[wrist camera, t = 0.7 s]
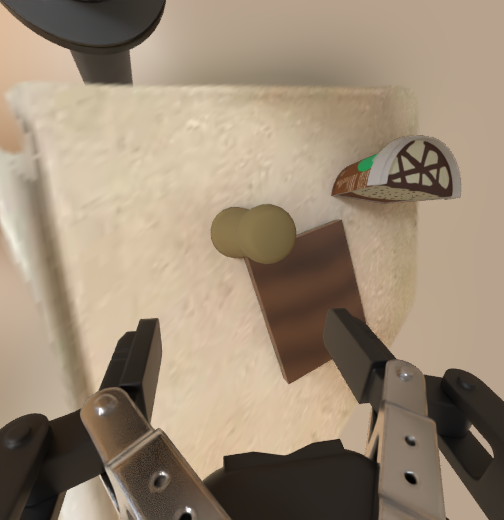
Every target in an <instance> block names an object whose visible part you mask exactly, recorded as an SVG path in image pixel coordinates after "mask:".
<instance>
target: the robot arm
mask: <svg viewBox="0 0 504 520" xmlns="http://www.w3.org/2000/svg"><path fill="white" fill-rule="evenodd" d="M74 1H78V2H83V3H99V2H103V1H106V0H74ZM323 341H324V345H325V347H326V349H327V350H328V352H329V354H330V355H331V357H332V359H333V361H334V362H335V364H336V366H337V367H338V369H339V371H340V372H341V374H342V376H343V378H344V379H345V381H346V383H347V384H348V386H349V388H350V389H351V391H352V393H353V395H354V396H355V398H356V400H357V401H358V403H359V404H362V403H370V404H371V406H372V409H371V412H370V419H369V426H368V433H367V441H366V448H365V454H364V455H362V454H360V453H357V452H355V451H351V450H347V449H344V447H343V445H342V443H341V440H340V439H335V440H328V441H322V442H315V443H311V444H309V445H307V446H305V447H303V448H301V449H299V450H297V451H295V452H293V453H291V454H289V455H276V454H268V453H260V452H248V453H242V454H235V455H228V456H223V467H222V468H220V469H218V470H216V471H215V472H213V473H212V474H210V475H209V476H208V477H206V478H205V479H204V480H203V481H201V479H200V478H199V477H198V475H197V474H196V473H195V471H194V470H193V469H192V468H191V466H190V465H189V464H188V462H187V461H186V460H185V458H184V457H183V456H182V455H181V453H180V452H179V451H178V449H177V448H176V447H175V445H174V444H173V443H172V442H171V440H170V439H169V438H168V436H167V435H166V434H165V433H164V431H163V430H161V429H160V428H158V429H156V430H155V429H154V428H153V427H152V426H151V425H150V422H151V416H152V411H153V405H154V399H155V393H156V388H157V382H158V376H159V370H160V365H161V358H162V343H161V334H160V325H159V319H158V318H152V319H140V321H139V324H138V327H137V330H136V331H131V332H126V333H125V334H124V335H123V336H122V337H121V338H120V339H119V341H118V343H117V346H116V348H115V352H114V353H113V356H112V360H111V361H110V363H109V366H108V368H107V371H106V373H105V376H104V378H103V381H102V383H101V386H100V388H99V391H98V392H96V393H95V394H93V395H92V396H91V397H89V398H88V399H87V400H86V402H85V403H84V404H83V406H82V408H81V409H79V410H77V411H75V412H73V413H70V414H68V415H65V416H62V417H59V418H57V419H54V420H51V421H48V419H47V417H46V416H44V415H42V414H36V413H34V414H28V415H24V416H21V417H19V418H17V419H15V420H13V421H11V422H10V423H8V424H6V425H5V426H4V427H3V428H1V429H0V520H58V517H59V513H60V510H61V507H62V504H63V501H64V498H65V495H66V492H67V490H68V489H70V488H73V487H75V486H77V485H79V484H81V483H83V482H85V481H87V480H90V479H92V478H94V477H96V476H98V475H99V477H100V479H101V481H102V483H103V485H104V487H105V489H106V491H107V493H108V495H109V497H110V499H111V501H112V503H113V505H114V507H115V509H116V511H117V513H118V515H119V517H120V519H121V520H449V519H448V518H447V517H446V516H445V507H444V497H443V488H442V479H441V468H440V459H439V450H438V448H439V449H440V451H441V452H442V453H443V455H444V456H445V458H446V459H447V461H448V462H449V463H450V465H451V466H452V468H453V469H454V470H455V472H456V473H457V475H458V476H459V477H460V479H461V481H462V482H463V483H464V485H465V486H466V488H467V489H468V490H469V492H470V493H471V495H472V496H473V498H474V499H475V501H476V502H477V503H478V505H479V506H480V508H481V509H482V511H483V512H484V513H485V515H486V516H487V518H488V519H489V520H504V401H503V400H502V399H501V398H500V397H498V396H497V395H496V394H495V393H494V392H493V391H492V390H491V389H490V388H489V387H488V386H487V385H486V384H485V383H484V382H482V381H481V380H480V379H479V378H477V377H476V376H474V375H473V374H471V373H469V372H466V371H464V370H460V369H448V370H447V371H446V372H445V374H444V376H443V378H441V377H435V376H428V375H423V373H422V372H421V371H420V370H419V369H418V368H417V367H416V366H414V365H412V364H411V363H409V362H406V361H403V360H398V359H396V358H395V357H394V355H393V354H392V353H391V352H390V351H389V350H388V349H387V347H386V346H385V345H384V344H383V343H382V342H381V341H380V339H379V338H377V336H376V335H375V334H374V333H373V332H372V330H371V329H370V328H369V327H368V326H367V325H366V323H364V322H363V321H361V320H360V319H358V318H357V317H353V316H352V315H351V314H350V313H349V311H348V310H347V309H346V308H329V309H328V311H327V315H326V320H325V326H324V331H323ZM472 424H473V425H474V427H475V428H476V429H477V430H478V431H479V432H480V434H481V435H482V436H483V437H484V438H485V439H486V440H487V442H488V443H489V444H490V446H491V448H492V450H493V454H494V458H492V456H491V455H490V454H489V453H488V452H487V451H486V449H485V448H484V447H483V446H482V445H481V444H480V442H479V441H478V440H477V439H476V438H475V437H474V435H473V434H472V433H471V432H470V431H469V429H470V427H471V425H472Z"/></svg>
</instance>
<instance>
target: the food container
mask: <svg viewBox="0 0 504 520" xmlns="http://www.w3.org/2000/svg"><path fill="white" fill-rule="evenodd" d="M331 196H337V197H344V198H350V199H357V200H363V201H370V202H376V203H383V204H386V203H399V202H411V201H423V200H435V199H445V200H447V199H454V198H460V196H461V179H460V172H459V168H458V165H457V162H456V159H455V157H454V155H453V154H452V152H451V151H450V149H449V148H448V147H447V146H446V145H445V144H444V143H443V142H441V141H440V140H438V139H436V138H433V137H429V136H423V135H417V136H406V137H401V138H397V139H395V140H393V141H391V142H390V143H389V144H387V145H386V146H385V147H384V148H383V149H382V150H381V152H380V153H377V154H375V155H373V156H370V157H368V158H366V159H363V160H361V161H359V162H356V163H354V164H352V165H350V166H348V167H346V168H345V169H344V170H343V171H342V172H341V173H340V174H339V175H338V177H337V179H336V181H335V183H334V186H333V189H332V195H331Z"/></svg>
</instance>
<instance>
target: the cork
mask: <svg viewBox="0 0 504 520" xmlns="http://www.w3.org/2000/svg"><path fill="white" fill-rule="evenodd" d="M211 239H212V242H213V244H214V246H215V247H216V249H217V250H218V251H219V252H220V253H222V254H223V255H225V256H227V257H232V258H237V257H249V258H250V259H252V260H253V261H255V262H258V263H263V264H271V263H276V262H278V261H280V260H282V259H284V258H285V257H286V256H287V255H288V254H289V253H290V252H291V250H292V248H293V247H294V244H295V240H296V228H295V224H294V221H293V219H292V218H291V216H290V215H289V213H287V212H286V211H285V210H284V209H282V208H280V207H278V206H275V205H272V204H267V205H259V206H257V207H254V208H252V209H251V210H249V209H244V208H239V207H230V208H228V209H225V210H223V211H222V212H220V213H219V214H218V215H217V216H216V218H215V219H214V221H213V223H212V227H211Z"/></svg>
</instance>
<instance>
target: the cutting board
mask: <svg viewBox="0 0 504 520" xmlns="http://www.w3.org/2000/svg"><path fill="white" fill-rule="evenodd" d="M244 259H245V262H246V265H247V268H248V271H249V274H250V277H251V280H252V283H253V287H254V290H255V293H256V296H257V299H258V302H259V305H260V308H261V311H262V314H263V317H264V320H265V323H266V326H267V329H268V332H269V335H270V338H271V341H272V344H273V347H274V350H275V353H276V356H277V359H278V362H279V366H280V369H281V372H282V375H283V378H284V379H285V380H286V382H287V383H288V384H290V383H292V382H294V381H295V380H297V379H299V378H300V377H302V376H304V375H306V374H307V373H309V372H311V371H312V370H314V369H316V368H318V367H319V366H321V365H323V364H324V363H326V362H328V361H330V360H331V359H332V357H331V355H330V354H329V352H328V350H327V349H326V347H325V345H324V341H323V331H324V326H325V320H326V315H327V311H328V309H329V308H346V309H347V310H348V311H349V313H350V314H351V315H352V316H353V317H357V318H358V319H360V320H361V321H363V322H364V323H366V321H365V317H364V313H363V309H362V304H361V300H360V296H359V292H358V287H357V283H356V279H355V275H354V270H353V266H352V262H351V258H350V253H349V249H348V245H347V241H346V236H345V232H344V228H343V224H342V220H334V221H331V222H329V223H326V224H324V225H321V226H319V227H316V228H314V229H311V230H309V231H306V232H304V233H301V234H298V235H296V240H295V244H294V247H293V248H292V250H291V252H290V253H289V254H288V255H287V256H286V257H285V258H284V259H282V260H280V261H278V262H276V263H271V264H263V263H258V262H255V261H253V260H252V259H250V258H249V257H244Z"/></svg>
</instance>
